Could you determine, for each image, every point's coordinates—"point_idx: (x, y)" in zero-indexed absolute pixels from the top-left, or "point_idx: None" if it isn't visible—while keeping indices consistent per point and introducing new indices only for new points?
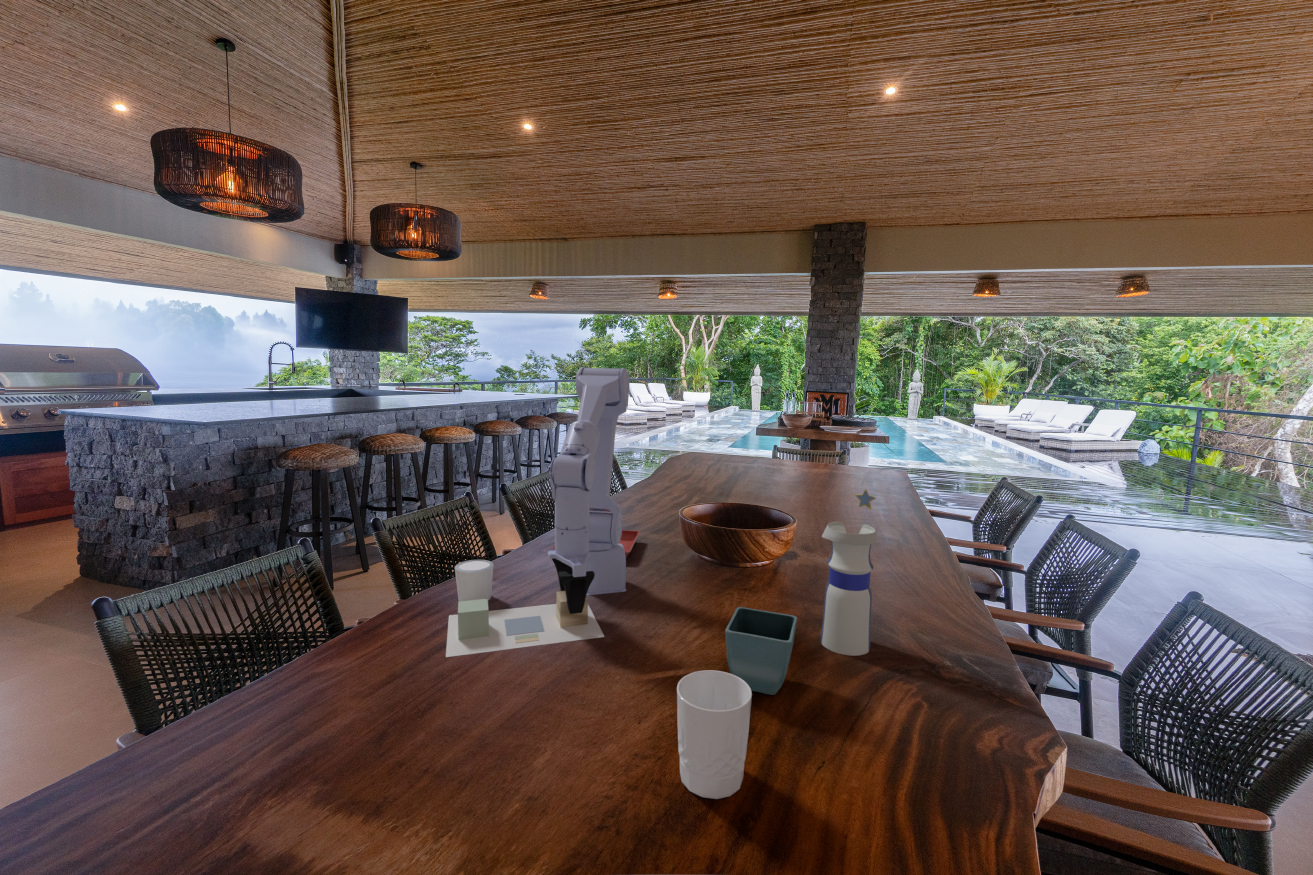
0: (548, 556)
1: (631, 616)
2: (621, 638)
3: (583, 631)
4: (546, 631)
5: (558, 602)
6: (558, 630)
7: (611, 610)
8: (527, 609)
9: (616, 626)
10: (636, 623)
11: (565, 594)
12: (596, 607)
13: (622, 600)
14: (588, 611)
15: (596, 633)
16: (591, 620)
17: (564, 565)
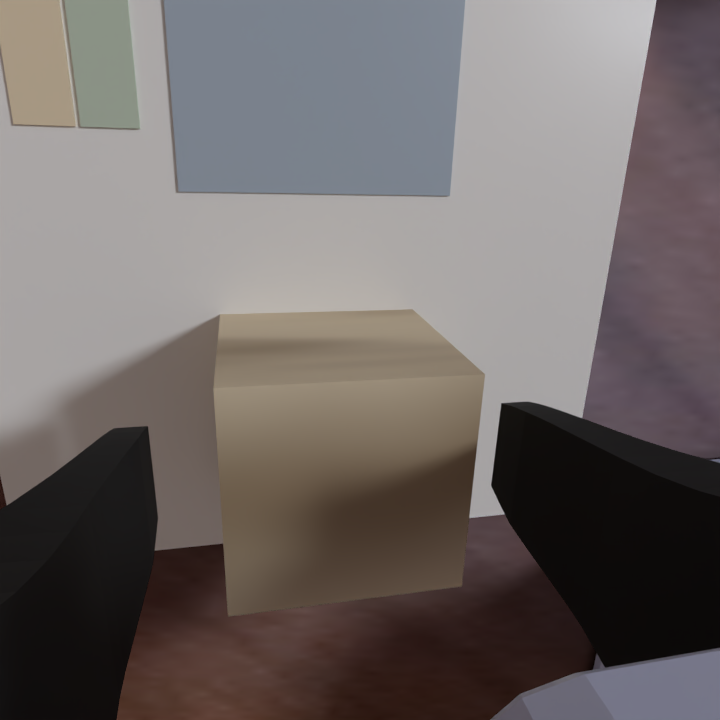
0: (598, 717)
1: (314, 691)
2: None
3: None
4: (173, 206)
5: (333, 361)
6: (170, 295)
7: (420, 609)
8: (591, 116)
9: (207, 618)
10: (221, 707)
11: (388, 447)
12: (486, 542)
13: (518, 664)
14: None
15: None
16: None
17: (708, 609)
